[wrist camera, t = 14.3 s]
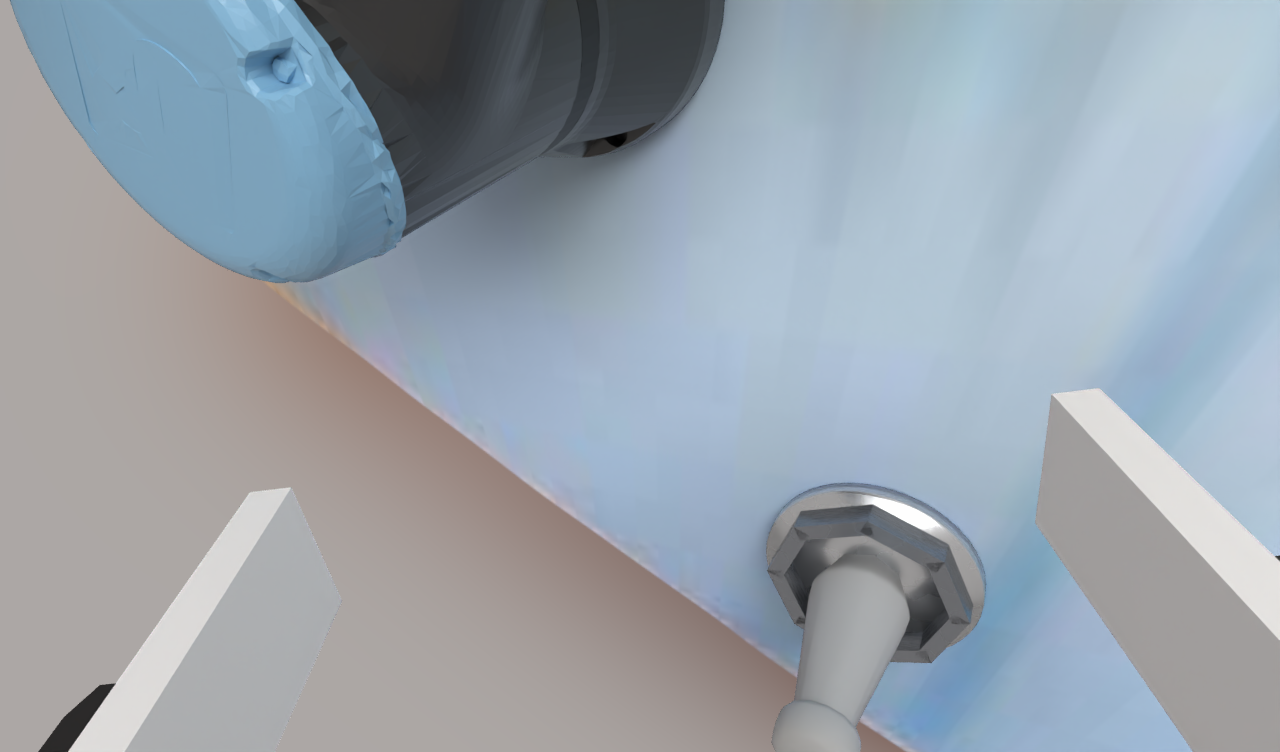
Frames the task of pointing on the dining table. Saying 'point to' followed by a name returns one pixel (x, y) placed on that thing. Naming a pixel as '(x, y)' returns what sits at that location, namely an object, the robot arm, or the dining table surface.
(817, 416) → the dining table surface
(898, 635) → the salt shaker
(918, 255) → the dining table surface
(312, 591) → the robot arm
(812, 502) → the steel collar
